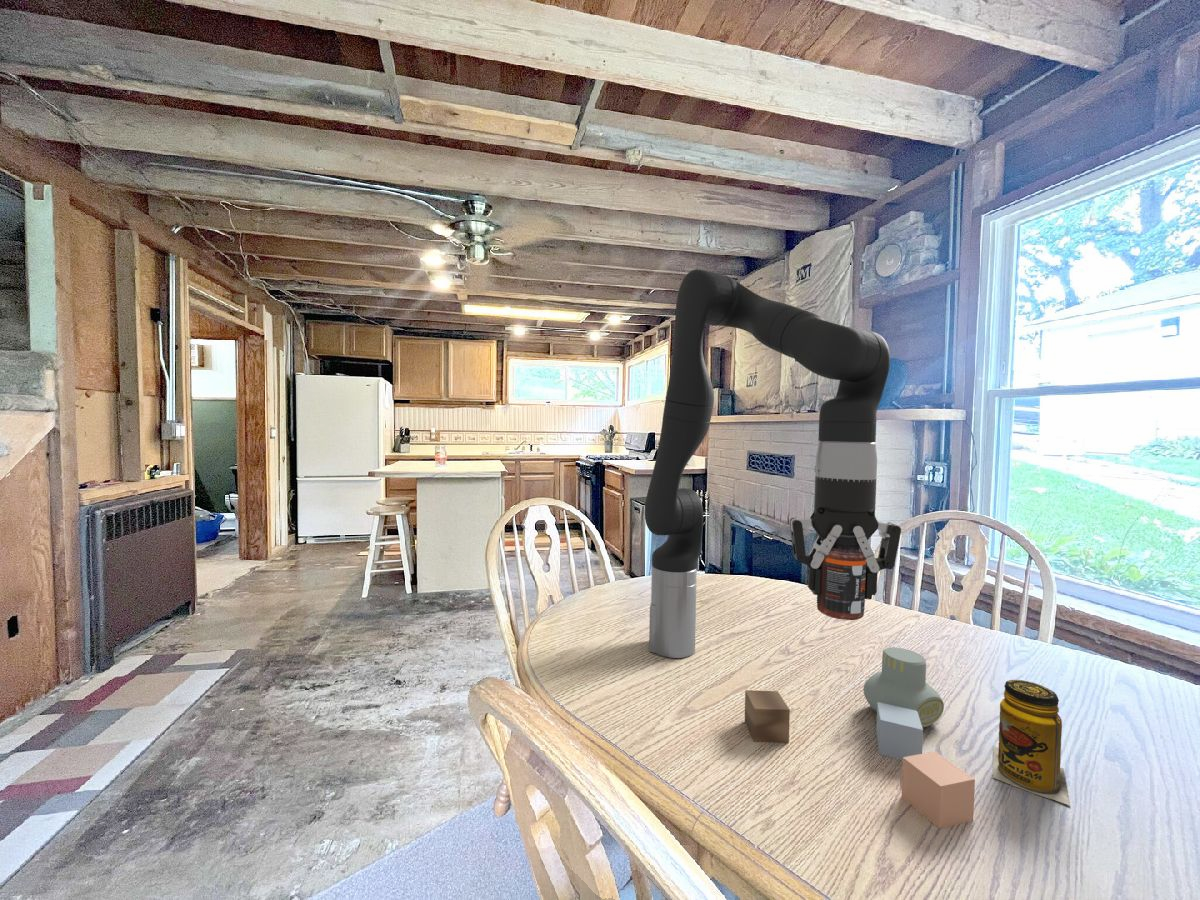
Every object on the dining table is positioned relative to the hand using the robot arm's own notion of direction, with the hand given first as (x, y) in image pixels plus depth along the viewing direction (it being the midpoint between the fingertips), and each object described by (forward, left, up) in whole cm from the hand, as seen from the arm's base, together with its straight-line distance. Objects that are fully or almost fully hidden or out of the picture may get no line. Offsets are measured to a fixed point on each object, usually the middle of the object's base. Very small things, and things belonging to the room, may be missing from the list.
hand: (840, 594), depth 66 cm
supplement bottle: (0, 0, -3) cm, 3 cm away
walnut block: (-9, +3, -23) cm, 24 cm away
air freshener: (+13, +12, -23) cm, 29 cm away
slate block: (+9, +3, -23) cm, 25 cm away
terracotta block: (+9, -8, -23) cm, 26 cm away
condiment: (+24, +1, -23) cm, 33 cm away
